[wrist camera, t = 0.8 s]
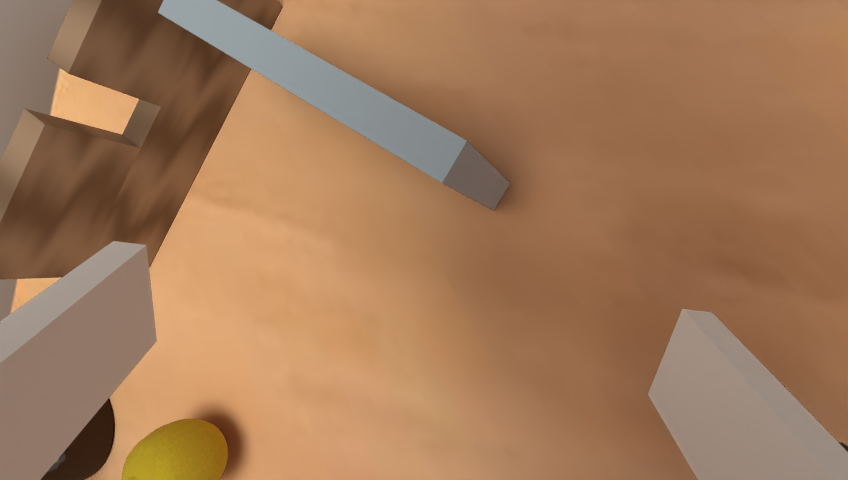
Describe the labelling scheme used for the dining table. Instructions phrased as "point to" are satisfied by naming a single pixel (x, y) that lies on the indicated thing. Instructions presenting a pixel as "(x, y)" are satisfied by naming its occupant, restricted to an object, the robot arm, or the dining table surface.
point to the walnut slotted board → (116, 137)
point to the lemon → (179, 453)
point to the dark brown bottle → (85, 449)
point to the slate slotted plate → (343, 98)
